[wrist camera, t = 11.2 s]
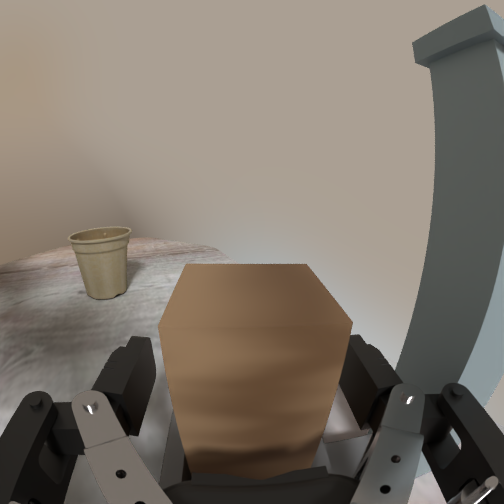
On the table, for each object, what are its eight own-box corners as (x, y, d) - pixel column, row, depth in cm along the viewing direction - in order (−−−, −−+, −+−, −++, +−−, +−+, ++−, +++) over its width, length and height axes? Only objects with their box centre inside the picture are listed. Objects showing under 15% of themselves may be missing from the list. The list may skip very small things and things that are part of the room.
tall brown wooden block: (204, 512, 9) (158, 326, 6) (206, 452, 13) (186, 263, 10) (292, 509, 9) (352, 322, 6) (280, 450, 14) (306, 263, 11)
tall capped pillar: (170, 536, 8) (105, -88, 1) (182, 433, 15) (163, 25, 9) (455, 481, 9) (567, 63, 2) (410, 409, 16) (467, 81, 10)
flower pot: (74, 286, 37) (65, 232, 35) (126, 275, 43) (122, 223, 41) (81, 311, 30) (70, 244, 28) (146, 296, 36) (140, 233, 34)
